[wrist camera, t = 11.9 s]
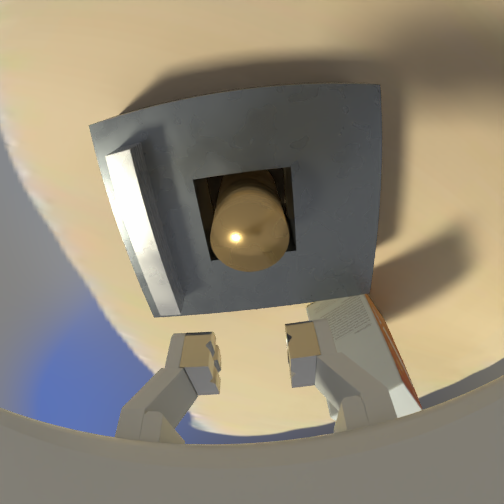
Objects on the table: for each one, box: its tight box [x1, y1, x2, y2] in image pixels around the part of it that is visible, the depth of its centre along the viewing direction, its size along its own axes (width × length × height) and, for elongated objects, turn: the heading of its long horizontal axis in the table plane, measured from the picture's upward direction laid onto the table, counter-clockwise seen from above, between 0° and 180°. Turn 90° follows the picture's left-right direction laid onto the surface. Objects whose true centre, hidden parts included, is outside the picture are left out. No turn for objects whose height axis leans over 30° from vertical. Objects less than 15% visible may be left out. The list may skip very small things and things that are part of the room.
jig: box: [89, 83, 382, 317], centre depth 20 cm, size 18×16×7 cm
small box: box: [306, 294, 422, 421], centre depth 25 cm, size 8×6×13 cm
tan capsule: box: [210, 170, 289, 272], centre depth 20 cm, size 4×4×8 cm
